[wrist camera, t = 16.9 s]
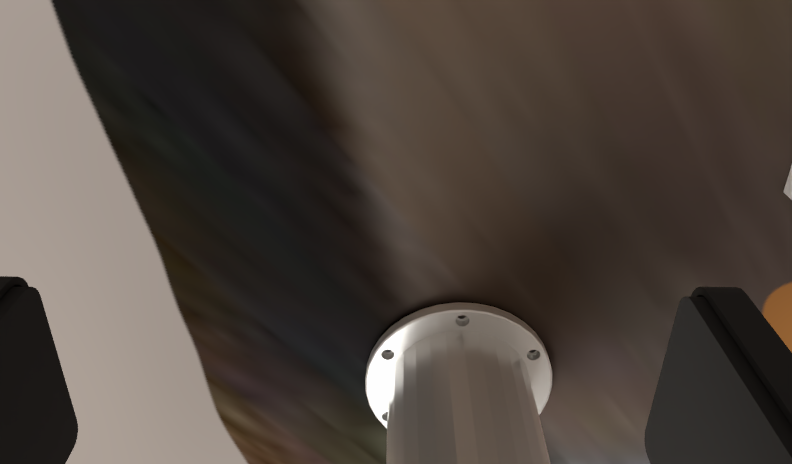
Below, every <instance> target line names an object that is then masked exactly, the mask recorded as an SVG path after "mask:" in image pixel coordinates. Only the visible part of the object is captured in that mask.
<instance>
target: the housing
mask: <svg viewBox="0 0 792 464" xmlns="http://www.w3.org/2000/svg"><path fill="white" fill-rule="evenodd" d="M783 193H785V194H786V195H787V196H788V197H789V198H790V199H791V200H792V165H791V169H790V172H789V175H788V178H787V182H786V185H785V188H784V191H783Z"/></svg>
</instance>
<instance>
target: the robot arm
mask: <svg viewBox="0 0 792 464" xmlns="http://www.w3.org/2000/svg"><path fill="white" fill-rule="evenodd" d="M365 383H366V395H367V398H368V402H369V405H370V407H371V409H372V411H373V412H374V414H375V416H376V418H377V419H378V420H379V421H380V422H381V423H382V424H383V425H384V427H385V428H387V458H386V464H551V463H550V459H549V455H548V451H547V447H546V442H545V438H544V434H543V430H542V426H541V422H540V418H539V415H540V413H541V412H542V411H543V409H544V407H545V405H546V403H547V401H548V399H549V396H550V392H551V388H552V369H551V364H550V360H549V357H548V354H547V351H546V349H545V346H544V344H543V342H542V341H541V339H540V338H539V337H538V335H537V334H536V332H535V331H534V330H533V329H532V328H530V327H529V326H528V325H527V324H526V323H525V322H524V321H522V320H521V319H519V318H517V317H516V316H514V315H512V314H511V313H509V312H506V311H504V310H501V309H498V308H496V307H493V306H488V305H483V304H478V303H462V302H456V303H447V304H439V305H435V306H431V307H428V308H424V309H421V310H419V311H416V312H414V313H412V314H410V315H408V316H406V317H404V318H402V319H401V320H400V321H398V322H397V323H395V324H394V325H392V326H391V327H390V328H389V329H388V330H387V331H386V332H385V333H384V334H383V335H382V336H381V337H380V338H379V340H378V341H377V343H376V345H375V346H374V348H373V349H372V351H371V354H370V357H369V360H368V362H367V369H366V378H365ZM77 433H78V424H77V419H76V416H75V412H74V409H73V406H72V402H71V399H70V396H69V392H68V388H67V385H66V382H65V378H64V375H63V371H62V368H61V365H60V361H59V358H58V354H57V351H56V348H55V344H54V341H53V337H52V334H51V330H50V327H49V324H48V320H47V317H46V313H45V311H44V307H43V303H42V300H41V297H40V294H39V292H38V290H36V288H33V287H29V286H28V284H27V282H26V281H25V280H24V279H23V278H20V277H0V464H65V463H66V461H67V459H68V457H69V455H70V454H71V452H72V449H73V448H74V445H75V443H76V439H77ZM645 447H646V452H647V455H648V458H649V461H650V463H651V464H792V353H791V351H790V350H789V349H788V347H787V346H786V345H785V344H784V342H783V341H782V340H781V338H780V337H779V336H778V334H777V333H776V332H775V331H774V329H773V328H772V327H771V325H770V324H769V323H768V322H767V320H766V319H765V318H764V316H763V315H762V314H761V312H760V311H759V310H758V309H757V307H756V306H755V305H754V303H753V302H752V301H751V299H750V298H749V297H748V296H747V294H746V293H745V292H744V291H743V290H742V289H740V288H736V287H698V288H696V289H695V290H694V292H693V293H692V295H691V297H684V298H682V299H681V301H680V303H679V306H678V310H677V313H676V317H675V321H674V325H673V328H672V332H671V336H670V340H669V343H668V347H667V351H666V355H665V358H664V362H663V366H662V370H661V373H660V377H659V381H658V385H657V388H656V392H655V396H654V399H653V403H652V407H651V411H650V414H649V418H648V422H647V426H646V430H645Z"/></svg>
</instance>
